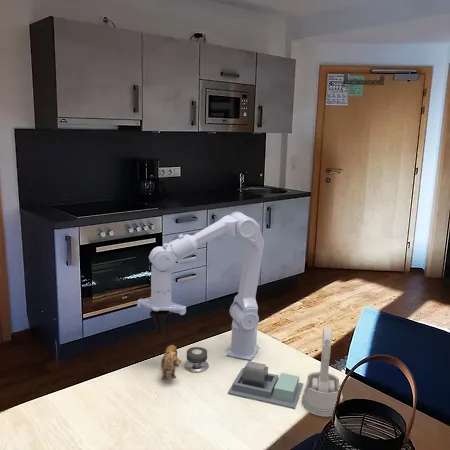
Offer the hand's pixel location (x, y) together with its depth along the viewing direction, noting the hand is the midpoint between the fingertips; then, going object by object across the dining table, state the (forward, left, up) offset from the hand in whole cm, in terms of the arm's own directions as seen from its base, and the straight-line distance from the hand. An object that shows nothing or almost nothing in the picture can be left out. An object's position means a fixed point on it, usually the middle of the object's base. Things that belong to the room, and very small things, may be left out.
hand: (161, 333), depth 135 cm
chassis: (+1, +32, -10) cm, 34 cm away
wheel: (-3, +10, -7) cm, 13 cm away
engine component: (+2, +47, -10) cm, 48 cm away
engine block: (+1, +29, -10) cm, 30 cm away
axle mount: (-3, +10, -10) cm, 14 cm away
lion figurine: (+3, +5, -10) cm, 12 cm away
